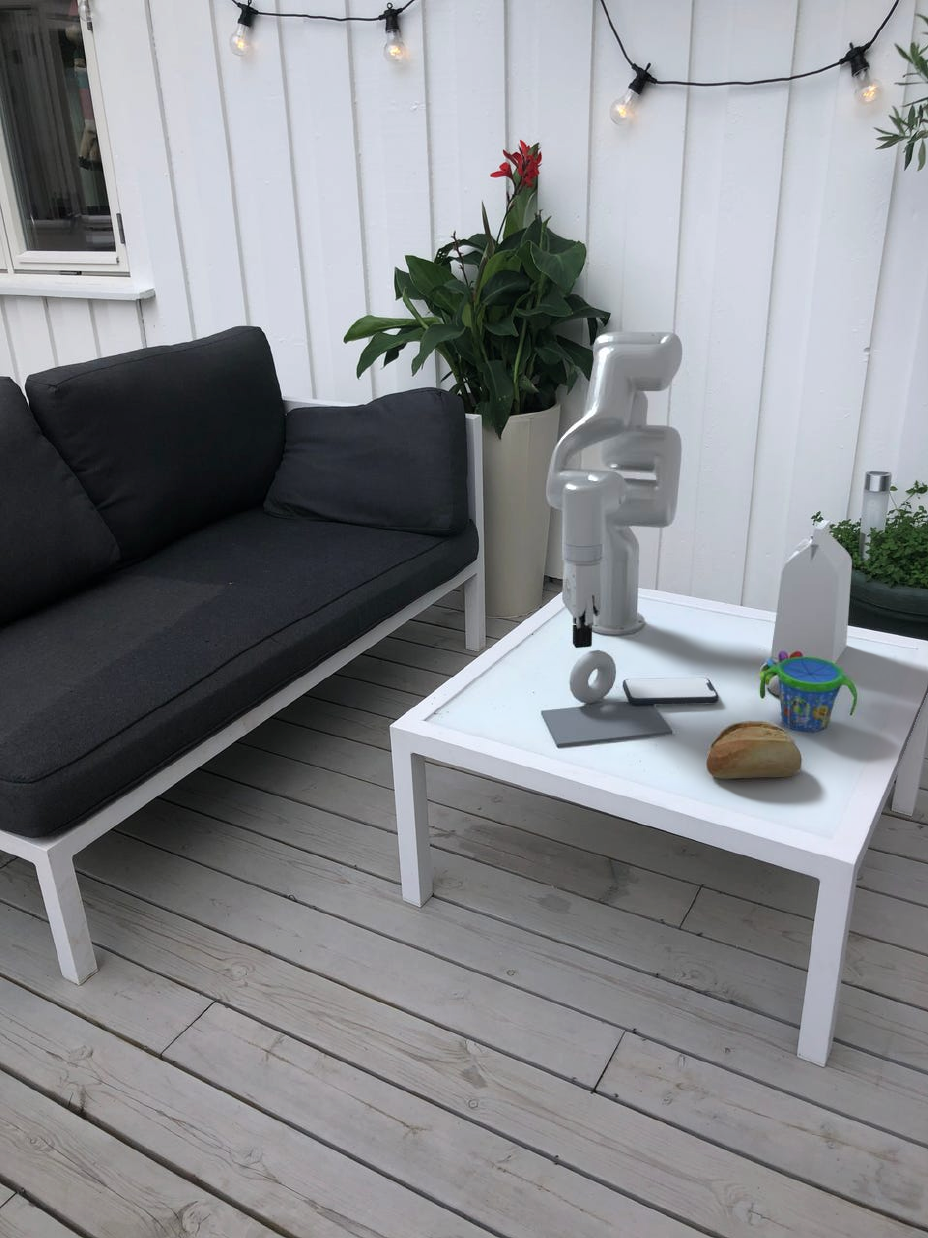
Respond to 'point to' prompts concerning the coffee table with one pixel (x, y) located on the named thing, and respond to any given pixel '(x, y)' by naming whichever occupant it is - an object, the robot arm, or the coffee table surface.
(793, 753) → the bread roll
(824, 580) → the milk
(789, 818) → the coffee table surface
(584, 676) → the donut
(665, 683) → the smartphone
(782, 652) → the multicolored rounded-lobe toy
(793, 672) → the snack cup
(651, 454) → the robot arm
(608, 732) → the mat
